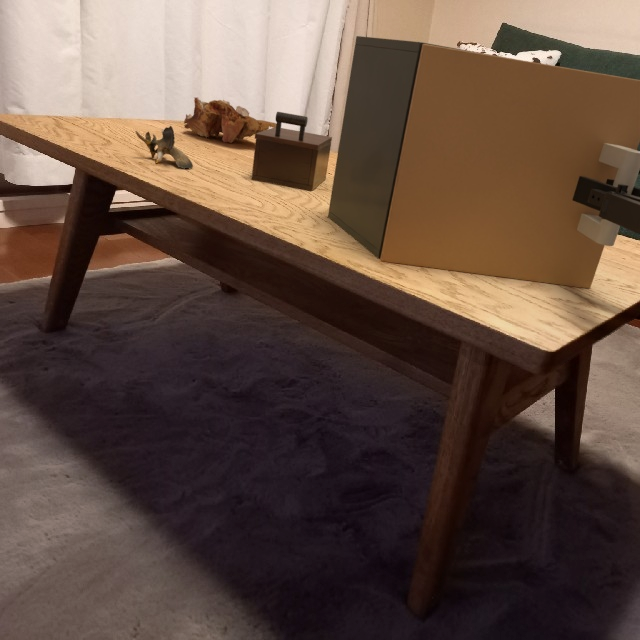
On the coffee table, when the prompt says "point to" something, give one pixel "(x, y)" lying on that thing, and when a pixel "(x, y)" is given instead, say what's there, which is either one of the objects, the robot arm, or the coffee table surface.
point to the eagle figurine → (166, 147)
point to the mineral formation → (223, 121)
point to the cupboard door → (509, 167)
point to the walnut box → (290, 164)
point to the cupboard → (373, 136)
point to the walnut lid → (293, 133)
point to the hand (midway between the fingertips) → (592, 189)
